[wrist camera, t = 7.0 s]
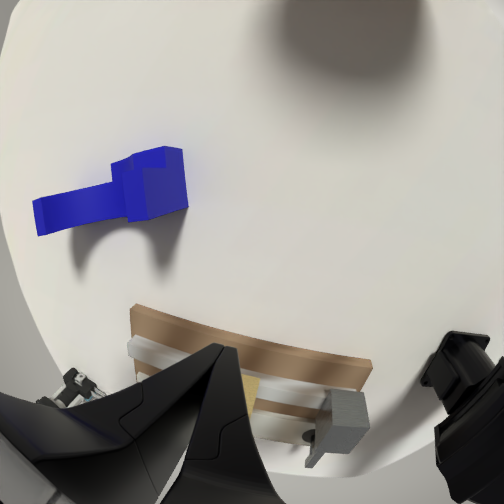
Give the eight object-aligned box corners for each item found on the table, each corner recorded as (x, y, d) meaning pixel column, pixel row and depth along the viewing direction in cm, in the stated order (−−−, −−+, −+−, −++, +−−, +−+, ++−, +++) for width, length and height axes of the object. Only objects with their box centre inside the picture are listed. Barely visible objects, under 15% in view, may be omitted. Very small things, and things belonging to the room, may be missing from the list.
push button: (104, 381, 29) (63, 428, 19) (108, 403, 30) (73, 447, 21) (69, 359, 29) (27, 398, 20) (74, 382, 31) (38, 419, 22)
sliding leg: (262, 370, 20) (244, 442, 13) (243, 435, 24) (227, 490, 17) (226, 361, 21) (197, 429, 14) (215, 428, 24) (194, 481, 17)
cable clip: (183, 149, 19) (139, 142, 13) (189, 206, 20) (148, 219, 14) (76, 177, 21) (30, 183, 16) (82, 222, 23) (37, 236, 17)
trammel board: (370, 359, 21) (376, 380, 18) (323, 439, 25) (323, 457, 22) (136, 303, 24) (120, 317, 21) (143, 393, 27) (133, 407, 25)
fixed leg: (362, 385, 20) (370, 427, 15) (322, 446, 23) (321, 481, 18) (330, 381, 20) (332, 425, 15) (296, 443, 23) (292, 479, 18)
